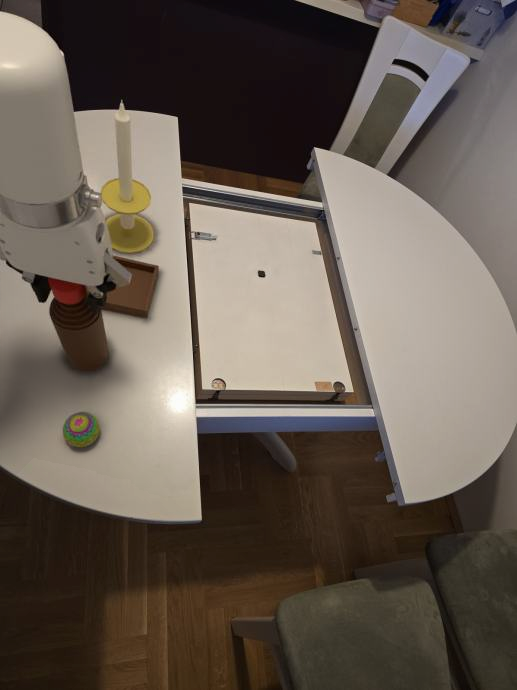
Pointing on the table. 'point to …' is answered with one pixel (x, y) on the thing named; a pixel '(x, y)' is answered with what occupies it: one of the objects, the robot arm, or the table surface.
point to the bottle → (80, 333)
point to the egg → (81, 429)
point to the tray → (133, 289)
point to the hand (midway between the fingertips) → (72, 298)
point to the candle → (126, 196)
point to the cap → (67, 291)
